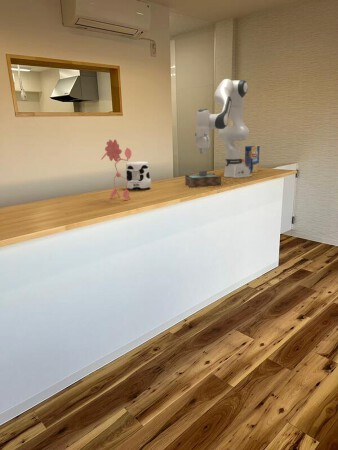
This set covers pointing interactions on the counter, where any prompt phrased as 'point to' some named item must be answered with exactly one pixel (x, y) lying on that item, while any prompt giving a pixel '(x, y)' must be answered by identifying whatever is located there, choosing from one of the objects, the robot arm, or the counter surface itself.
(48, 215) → the counter surface
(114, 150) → the figurine
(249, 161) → the beverage box
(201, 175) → the cover plate
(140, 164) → the milk container
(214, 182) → the walnut box
